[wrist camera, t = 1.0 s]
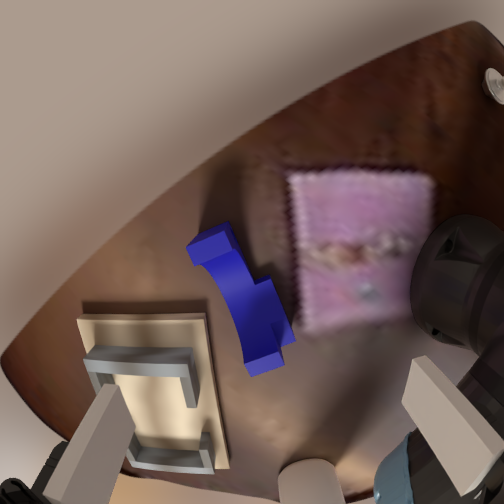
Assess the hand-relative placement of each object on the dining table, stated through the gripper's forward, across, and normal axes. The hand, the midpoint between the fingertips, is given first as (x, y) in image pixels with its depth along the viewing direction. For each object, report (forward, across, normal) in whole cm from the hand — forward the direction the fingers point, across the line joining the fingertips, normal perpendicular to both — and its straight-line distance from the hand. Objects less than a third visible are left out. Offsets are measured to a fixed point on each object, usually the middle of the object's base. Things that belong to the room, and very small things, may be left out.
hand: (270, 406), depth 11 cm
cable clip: (+17, +1, 0) cm, 17 cm away
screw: (+17, -31, -22) cm, 42 cm away
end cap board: (+17, +12, +15) cm, 25 cm away
